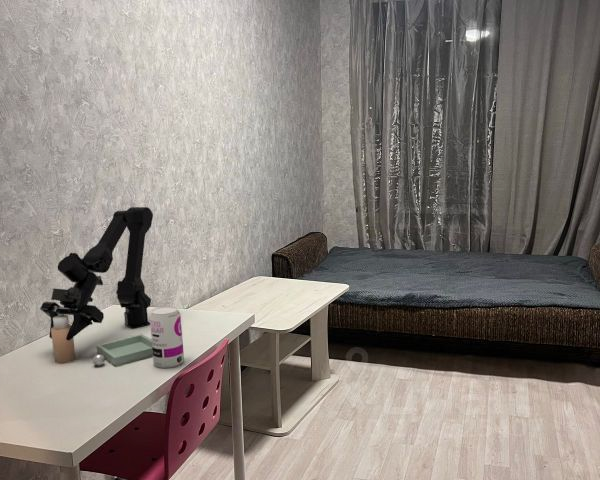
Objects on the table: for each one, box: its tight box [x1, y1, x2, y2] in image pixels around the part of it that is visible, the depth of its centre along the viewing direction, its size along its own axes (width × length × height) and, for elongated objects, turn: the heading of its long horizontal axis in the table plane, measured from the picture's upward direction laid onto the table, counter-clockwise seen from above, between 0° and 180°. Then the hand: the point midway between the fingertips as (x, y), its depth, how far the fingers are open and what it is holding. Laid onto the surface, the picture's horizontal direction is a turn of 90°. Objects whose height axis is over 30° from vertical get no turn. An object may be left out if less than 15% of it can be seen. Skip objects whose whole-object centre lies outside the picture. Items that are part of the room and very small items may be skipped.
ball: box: [92, 354, 106, 367], centre depth 167 cm, size 3×3×3 cm
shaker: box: [51, 314, 76, 364], centre depth 171 cm, size 6×6×12 cm
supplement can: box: [149, 306, 185, 369], centre depth 165 cm, size 8×8×15 cm
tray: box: [96, 333, 153, 367], centre depth 175 cm, size 14×14×2 cm
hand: (59, 338), depth 170 cm, fingers closed on shaker, 6 cm apart
